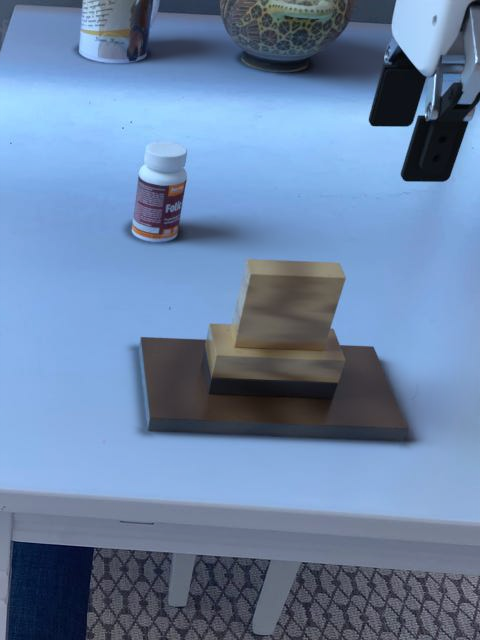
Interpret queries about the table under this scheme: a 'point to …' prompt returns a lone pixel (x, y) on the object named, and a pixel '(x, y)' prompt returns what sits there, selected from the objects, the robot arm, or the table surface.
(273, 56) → the decorative ceramic pot
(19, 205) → the table surface
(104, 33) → the mug
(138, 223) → the pill bottle
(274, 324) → the wooden handled stamp
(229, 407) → the board
